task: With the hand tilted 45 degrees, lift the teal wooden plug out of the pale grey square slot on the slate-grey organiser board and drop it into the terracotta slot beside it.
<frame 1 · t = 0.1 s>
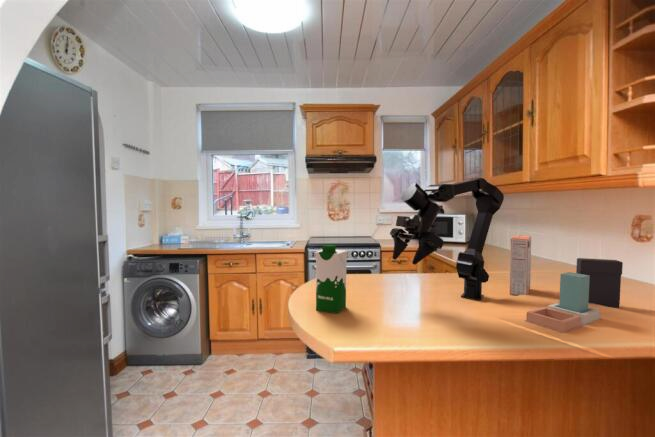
hand: (403, 261, 100), 15 cm above the countertop, tool tilted 35°, fingers open, 9 cm apart
black box: (596, 305, 106), on the countertop
organiser: (563, 323, 89), on the countertop
milk carton: (331, 309, 100), on the countertop
plug: (573, 316, 92), point 1 cm above the countertop, touching organiser
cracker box: (519, 292, 121), on the countertop
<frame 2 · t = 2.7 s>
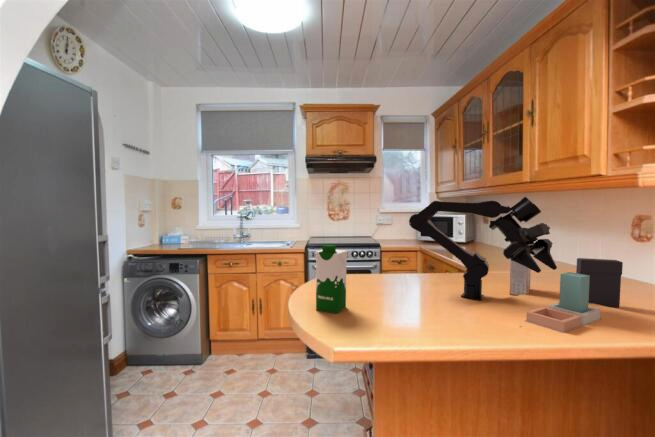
hand: (547, 270, 98), 13 cm above the countertop, tool tilted 45°, fingers open, 9 cm apart
nothing on the countertop moved.
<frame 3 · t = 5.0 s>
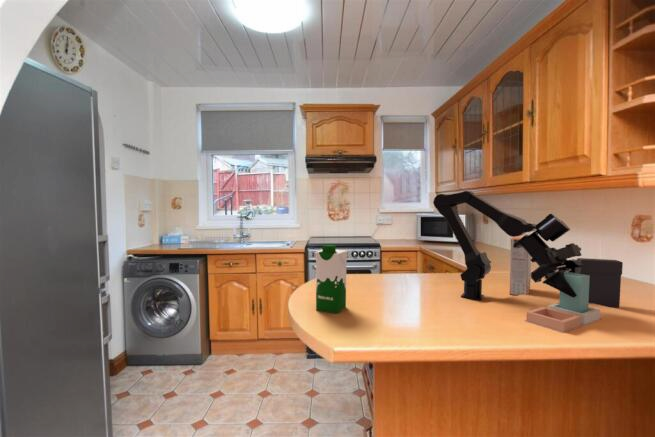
hand: (579, 295, 91), 7 cm above the countertop, tool tilted 45°, fingers closed on plug, 5 cm apart
plug: (573, 316, 92), point 1 cm above the countertop, touching gripper, organiser
everything else where it was.
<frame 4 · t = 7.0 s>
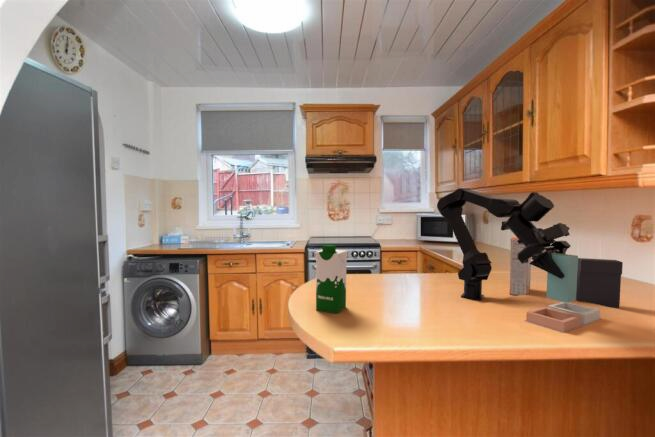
hand: (567, 276, 87), 14 cm above the countertop, tool tilted 45°, fingers closed on plug, 5 cm apart
plug: (561, 298, 88), point 7 cm above the countertop, touching gripper
everything else where it was.
when the fingers open (9 cm above the countertop, at t = 8.8 s): plug drops 1 cm, resting on organiser.
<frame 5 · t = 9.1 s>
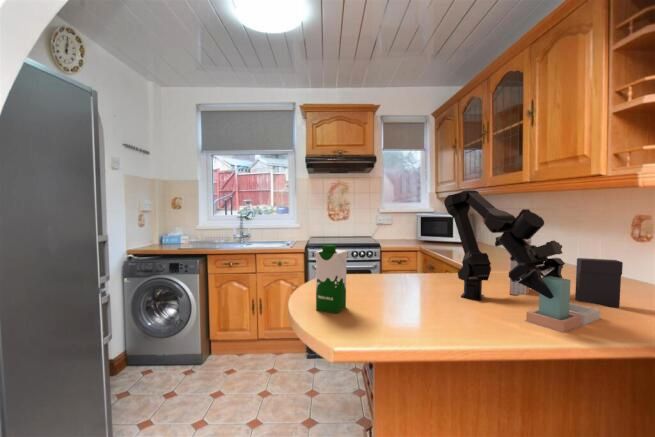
hand: (560, 295, 85), 9 cm above the countertop, tool tilted 45°, fingers open, 8 cm apart
plug: (553, 323, 87), point 1 cm above the countertop, touching organiser
everything else where it was.
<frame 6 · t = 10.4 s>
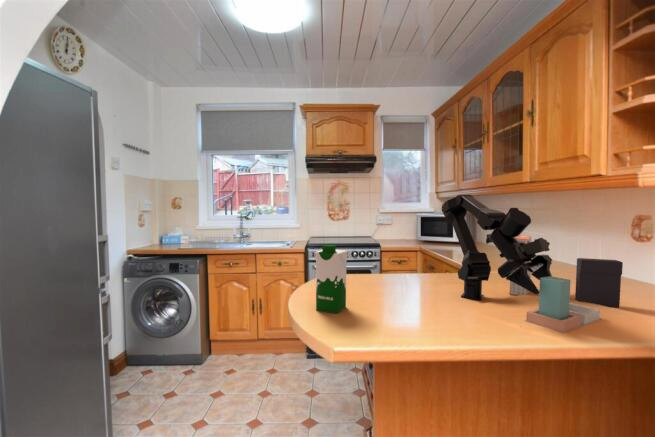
hand: (546, 291, 88), 9 cm above the countertop, tool tilted 45°, fingers open, 9 cm apart
nothing on the countertop moved.
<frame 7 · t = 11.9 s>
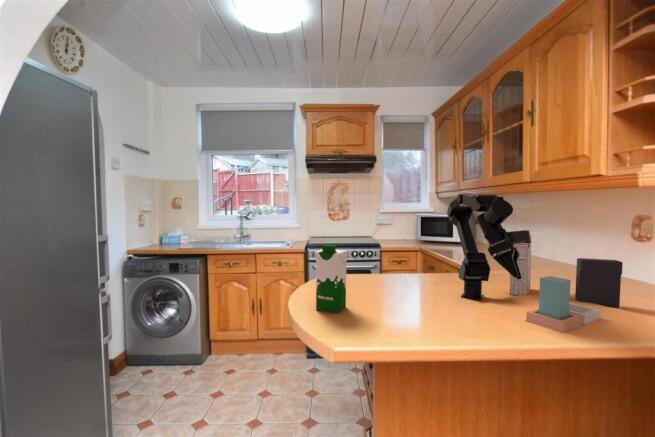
hand: (518, 278, 94), 11 cm above the countertop, tool tilted 30°, fingers open, 9 cm apart
nothing on the countertop moved.
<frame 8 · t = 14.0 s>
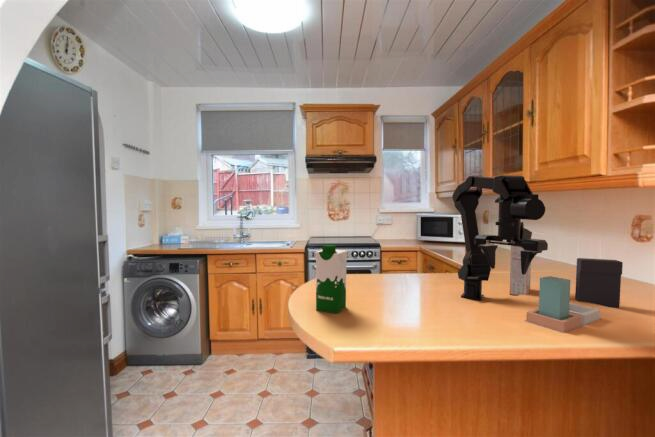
hand: (507, 271, 95), 13 cm above the countertop, tool pointing down, fingers open, 9 cm apart
nothing on the countertop moved.
at the end: plug 0.0 cm from the target spot on the organiser, point 1.0 cm above the organiser's base; plug tilted 0°; the gripper is holding nothing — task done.
